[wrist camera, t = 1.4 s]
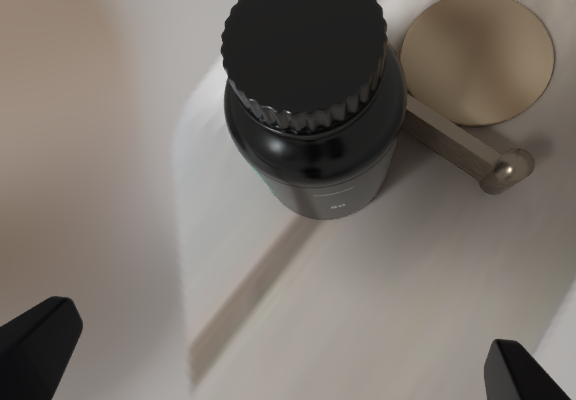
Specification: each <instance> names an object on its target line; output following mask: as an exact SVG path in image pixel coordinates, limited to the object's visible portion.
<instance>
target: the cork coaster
mask: <svg viewBox="0 0 576 400" xmlns="http://www.w3.org/2000/svg"><path fill="white" fill-rule="evenodd" d="M400 62H401V64H402V67H403V70H404V73H405V77H406V82H407V90H408V91H409V93H410V95H411V96H412V97H413V98H415V99H417V100H418V101H420V102H421V103H423V104H424V105H426V106H427V107H429V108H431V109H432V110H434V111H435V112H437V113H438V114H440V115H441V116H443V117H445V118H446V119H448V120H449V121H451V122H452V123H454V124H456V125H462V126H473V127H479V126H489V125H494V124H498V123H501V122H505V121H507V120H509V119H512V118H514V117H516V116H517V115H519V114H521V113H522V112H524V111H525V110H526V109H527V108H529V107H530V106H531V105H532V104H533V103H534V102H535V101H536V100H537V99H538V98H539V97H540V95H541V94H542V93H543V91H544V90H545V88H546V86H547V84H548V82H549V80H550V77H551V74H552V71H553V64H554V52H553V46H552V42H551V39H550V36H549V34H548V32H547V30H546V29H545V27H544V26H543V24H542V23H541V21H540V20H539V19H538V18H537V17H536V16H535V15H534V14H533V13H532V12H531V11H530V10H528V9H527V8H526V7H524V6H523V5H521V4H519V3H518V2H515V1H513V0H441V1H439V2H437V3H435V4H433V5H432V6H430V7H429V8H427V9H426V10H425V11H424V12H422V13H421V14H420V15H419V16H418V17H417V18H416V20H415V21H414V22H413V24H412V25H411V26H410V28H409V30H408V32H407V33H406V36H405V38H404V41H403V45H402V50H401V55H400Z"/></svg>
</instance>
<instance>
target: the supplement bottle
mask: <svg viewBox="0 0 576 400" xmlns="http://www.w3.org/2000/svg"><path fill="white" fill-rule="evenodd" d="M386 30H387V23H386V21H385V19H384V18H383V9H382V7H381V6H380V5H379V4H378V3H377V1H376V0H238V3H237V4H236V5H234V6H233V7H232V9H231V12H230V16H229V17H228V18H227V20H226V21H225V30H224V32H223V33H222V35H221V37H222V42H223V44H222V47H221V54H222V56H223V58H224V59H223V67H224V69H225V71H226V73H227V75H228V79H227V82H226V87H225V93H224V113H225V119H226V124H227V127H228V130H229V133H230V135H231V137H232V140H233V141H234V143H235V145H236V147H237V148H238V150H239V152H240V153H241V154H242V156H243V157H244V158H245V160H246V161H247V162H248V163H249V165H250V166H251V167H252V168H253V169H254V171H255V172H256V173H257V174H258V176H259V177H260V178H261V179H262V181H263V182H264V183H265V184H266V185H267V187H268V188H269V189H270V190H271V192H272V193H273V194H274V195H275V196H276V197H277V198H278V199H279V201H280V202H281V203H282V204H284V205H285V206H286V207H287V208H289V209H290V210H292V211H293V212H295V213H297V214H299V215H301V216H304V217H307V218H311V219H317V220H333V219H339V218H343V217H346V216H349V215H351V214H353V213H355V212H357V211H359V210H360V209H362V208H363V207H364V206H366V205H367V204H368V203H369V202H370V201H371V200H372V199H373V198H374V197H375V195H376V194H377V193H378V191H379V190H380V188H381V186H382V184H383V182H384V180H385V177H386V175H387V172H388V169H389V166H390V163H391V160H392V156H393V153H394V150H395V147H396V144H397V141H398V138H399V135H400V131H401V128H402V125H403V122H404V118H405V113H406V107H407V82H406V77H405V73H404V70H403V67H402V64H401V62H400V60H399V57H398V56H397V54H396V52H395V51H394V49H393V48H392V46H391V45H390V44H389V42H388V40H387V36H386Z"/></svg>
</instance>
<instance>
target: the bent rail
mask: <svg viewBox="0 0 576 400" xmlns="http://www.w3.org/2000/svg"><path fill="white" fill-rule="evenodd" d="M401 129H403V130H404V131H406V132H407V133H409V134H410V135H412V136H413V137H415V138H416V139H418V140H419V141H421V142H422V143H424V144H425V145H427V146H428V147H430V148H431V149H433V150H434V151H436V152H437V153H438V154H440V155H441V156H443V157H444V158H446V159H447V160H449V161H450V162H452V163H453V164H455V165H456V166H458V167H459V168H461V169H462V170H464V171H465V172H467V173H468V174H470V175H471V176H473V177H474V178H476V179H477V180H479V181H480V186H481V187H482V189H483V190H484V191H485V192H487V193H489V194H500V193H502V192H503V191H505V190H507V189H508V188H510V187H511V186H513V185H515V184H516V183H518V182H519V181H521V180H522V179H524V178H526V177H527V176H529V175H530V174H531V173H532V171H533V170H534V160H533V158H532V156H531V155H530V154H529V153H528V152H526V151H525V150H522V149H512V150H509V151H507V152H506V153H505V154H504V155H502V154H500V153H499V152H497V151H496V150H494V149H493V148H491V147H490V146H488V145H486V144H485V143H483V142H482V141H480V140H479V139H477V138H476V137H474V136H472V135H471V134H469V133H468V132H466V131H465V130H463V129H462V128H460V127H459V126H457V125H455V124H454V123H452V122H451V121H449V120H448V119H446V118H445V117H443V116H441V115H440V114H438V113H437V112H435V111H434V110H432V109H431V108H429V107H427V106H426V105H424V104H423V103H421V102H420V101H418V100H417V99H415V98H413V97H412V96H410V95H409V94H407V107H406V113H405V118H404V122H403V125H402V128H401Z"/></svg>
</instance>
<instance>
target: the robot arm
mask: <svg viewBox="0 0 576 400" xmlns="http://www.w3.org/2000/svg"><path fill="white" fill-rule="evenodd" d="M82 328H83V322H82V319H81V317H80V315H79V312H78V310H77V308H76V306H75V304H74V302H73V300H72V299H70V298H68V297H59V296H53V297H50V298H48V299H46V300H44V301H43V302H41V303H39V304H38V305H36V306H35V307H33V308H31V309H30V310H28V311H26V312H24V313H23V314H21V315H20V316H18V317H16V318H14V319H13V320H11V321H10V322H8V323H6V324H4V325H3V326H1V327H0V400H52V398H53V396H54V394H55V391H56V389H57V387H58V385H59V383H60V380H61V378H62V376H63V373H64V371H65V369H66V367H67V364H68V362H69V360H70V358H71V355H72V353H73V351H74V349H75V346H76V344H77V342H78V339H79V337H80V335H81V332H82ZM484 380H485V387H486V394H487V400H571V399H570V398H569V397H568V396H567V395H566V393H565V392H564V391H563V390H562V389H561V388H560V387H559V386H558V385H557V384H556V383H555V381H554V380H553V379H552V378H551V377H550V376H549V375H548V374H547V373H546V371H545V370H544V369H543V368H542V367H541V366H540V365H539V364H538V363H537V361H536V360H535V359H534V358H533V357H532V356H531V355H530V354H529V353H528V352H527V350H526V349H525V348H524V347H523V346H522V345H521V344H520V343H518V342H517V341H514V340H504V339H495V340H494V341H493V342H492V344H491V347H490V350H489V353H488V356H487V359H486V362H485V365H484Z"/></svg>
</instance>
